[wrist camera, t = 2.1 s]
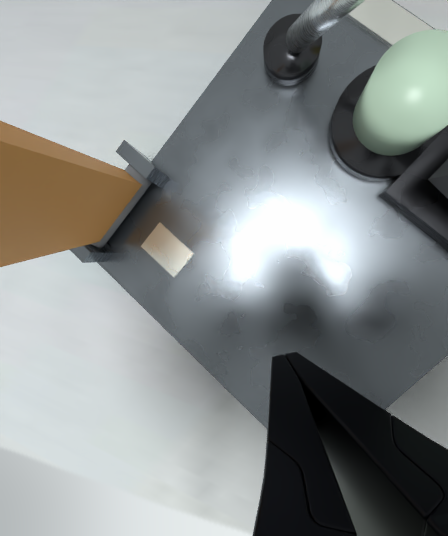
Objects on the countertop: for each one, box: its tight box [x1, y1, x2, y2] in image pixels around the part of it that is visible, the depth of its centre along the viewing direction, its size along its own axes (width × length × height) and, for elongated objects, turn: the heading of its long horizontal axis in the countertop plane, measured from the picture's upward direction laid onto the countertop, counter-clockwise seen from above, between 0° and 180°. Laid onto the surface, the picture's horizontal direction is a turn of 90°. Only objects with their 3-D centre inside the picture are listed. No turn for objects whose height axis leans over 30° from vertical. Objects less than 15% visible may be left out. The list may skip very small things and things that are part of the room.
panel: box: [69, 0, 448, 429], centre depth 15 cm, size 21×22×4 cm
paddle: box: [0, 121, 152, 267], centre depth 11 cm, size 2×5×13 cm, turn 139°
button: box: [353, 30, 448, 156], centre depth 11 cm, size 4×4×2 cm
